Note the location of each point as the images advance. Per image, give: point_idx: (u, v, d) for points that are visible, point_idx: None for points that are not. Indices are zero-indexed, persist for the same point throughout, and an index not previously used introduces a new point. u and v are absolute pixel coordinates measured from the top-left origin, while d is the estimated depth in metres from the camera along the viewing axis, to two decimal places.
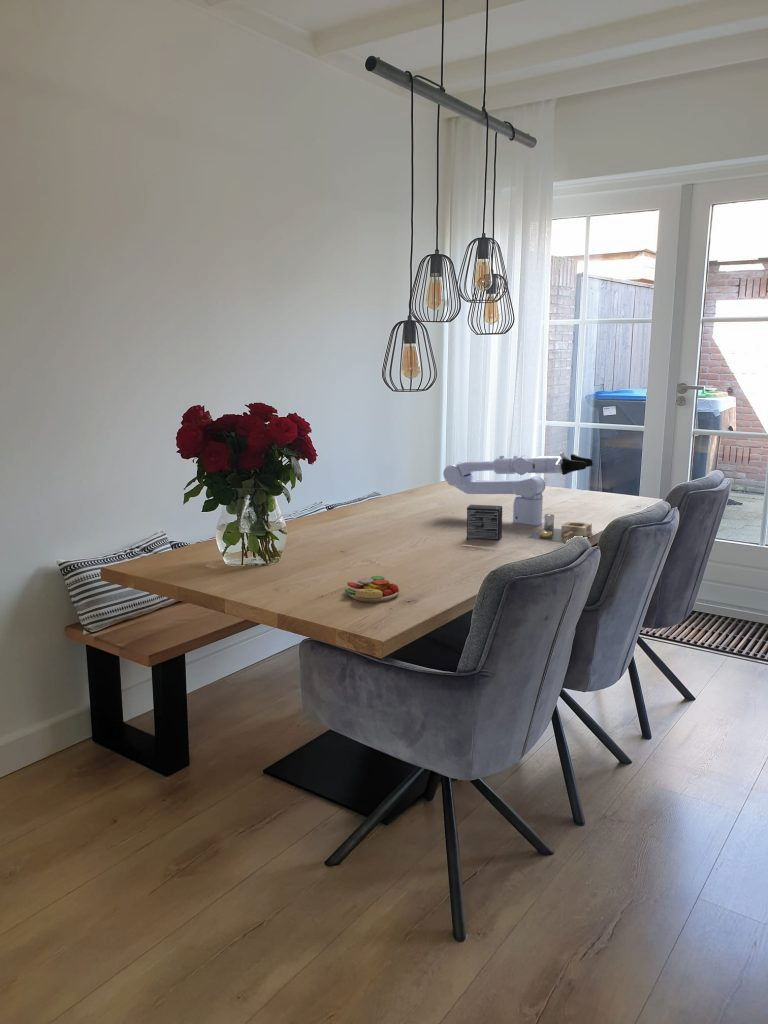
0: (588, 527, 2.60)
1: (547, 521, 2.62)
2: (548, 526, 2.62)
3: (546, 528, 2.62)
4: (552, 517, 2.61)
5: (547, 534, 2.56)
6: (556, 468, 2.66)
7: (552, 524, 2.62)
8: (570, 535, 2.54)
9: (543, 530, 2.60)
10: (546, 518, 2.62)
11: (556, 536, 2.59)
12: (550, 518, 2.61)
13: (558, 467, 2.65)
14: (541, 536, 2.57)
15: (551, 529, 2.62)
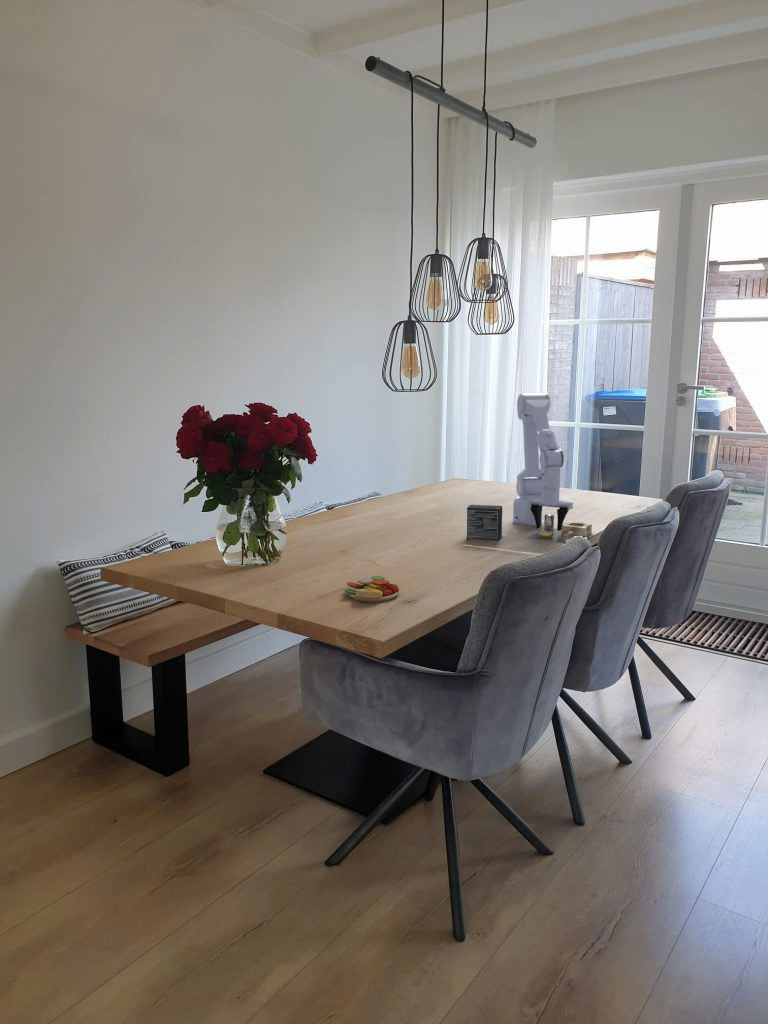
0: (588, 527, 2.60)
1: (547, 521, 2.62)
2: (548, 526, 2.62)
3: (546, 528, 2.62)
4: (552, 517, 2.61)
5: (547, 534, 2.56)
6: None
7: (552, 524, 2.62)
8: (570, 535, 2.54)
9: (543, 530, 2.60)
10: (546, 518, 2.62)
11: (556, 536, 2.59)
12: (550, 518, 2.61)
13: None
14: (541, 536, 2.57)
15: (551, 529, 2.62)
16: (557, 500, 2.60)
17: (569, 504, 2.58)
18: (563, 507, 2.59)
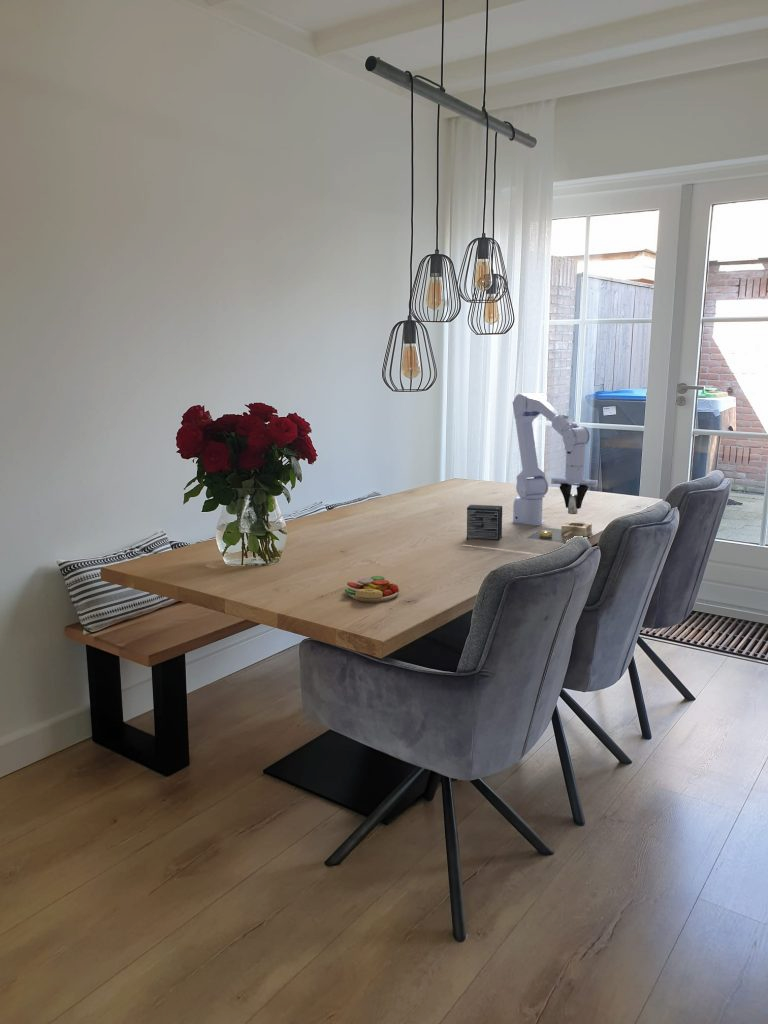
0: (588, 527, 2.60)
1: (570, 501, 2.59)
2: (572, 506, 2.59)
3: (569, 508, 2.60)
4: (576, 497, 2.59)
5: (547, 534, 2.56)
6: None
7: (576, 504, 2.59)
8: (570, 535, 2.54)
9: (543, 530, 2.60)
10: (570, 498, 2.59)
11: (556, 536, 2.59)
12: (573, 498, 2.59)
13: None
14: (541, 536, 2.57)
15: (575, 509, 2.60)
16: (582, 478, 2.57)
17: (594, 482, 2.55)
18: (583, 485, 2.57)
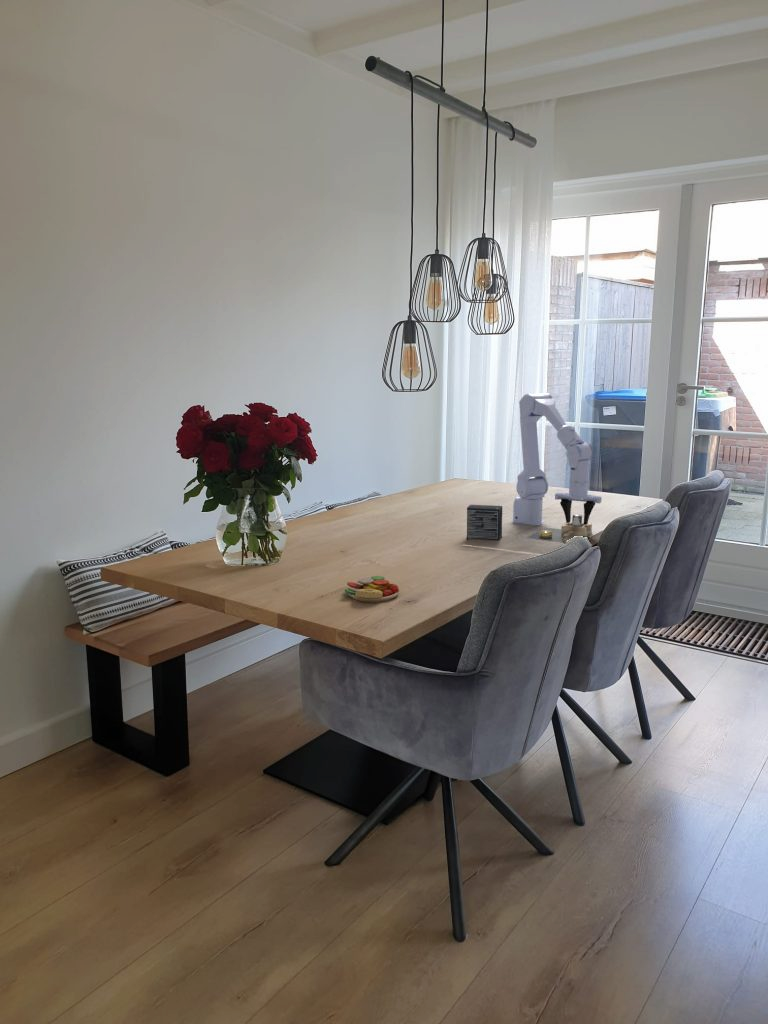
0: (588, 527, 2.60)
1: (574, 521, 2.61)
2: None
3: None
4: (580, 518, 2.60)
5: (547, 534, 2.56)
6: None
7: (579, 525, 2.61)
8: (570, 535, 2.54)
9: (543, 530, 2.60)
10: (574, 518, 2.61)
11: (556, 536, 2.59)
12: (577, 518, 2.60)
13: None
14: (541, 536, 2.57)
15: None
16: (585, 494, 2.58)
17: (598, 498, 2.56)
18: (590, 501, 2.58)
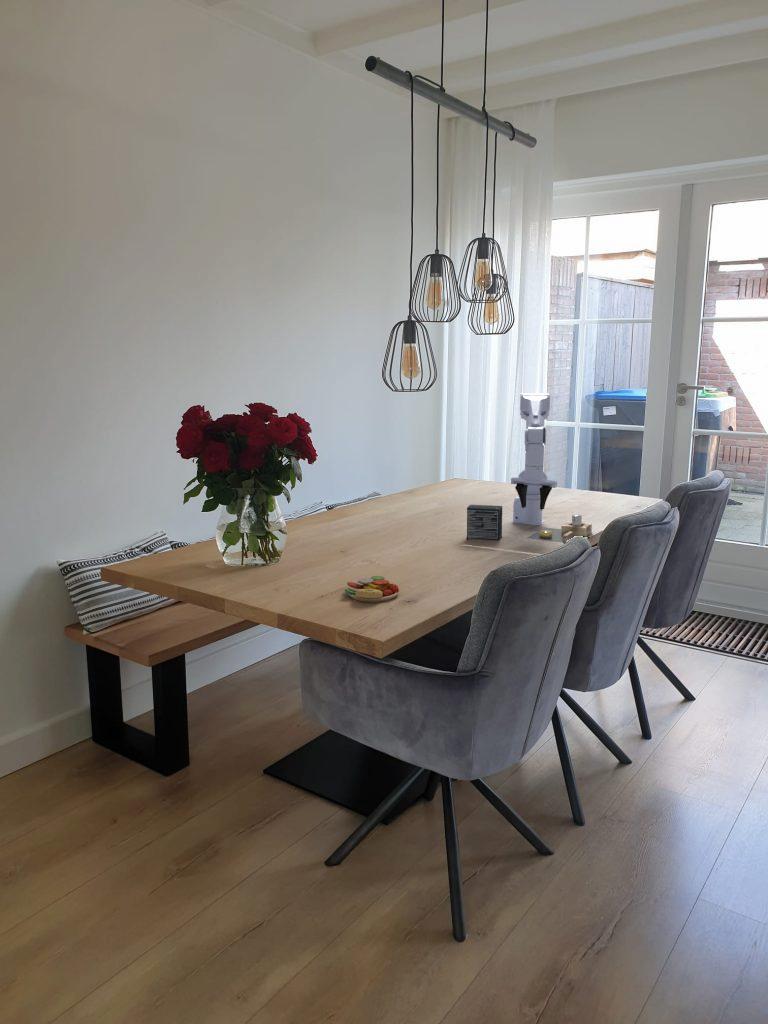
0: (588, 527, 2.60)
1: (574, 522, 2.61)
2: None
3: None
4: (579, 518, 2.60)
5: (547, 534, 2.56)
6: None
7: (579, 525, 2.61)
8: (570, 535, 2.54)
9: (543, 530, 2.60)
10: (573, 519, 2.61)
11: (556, 536, 2.59)
12: (577, 518, 2.60)
13: None
14: (541, 536, 2.57)
15: None
16: (541, 478, 2.55)
17: (553, 482, 2.53)
18: (546, 485, 2.54)
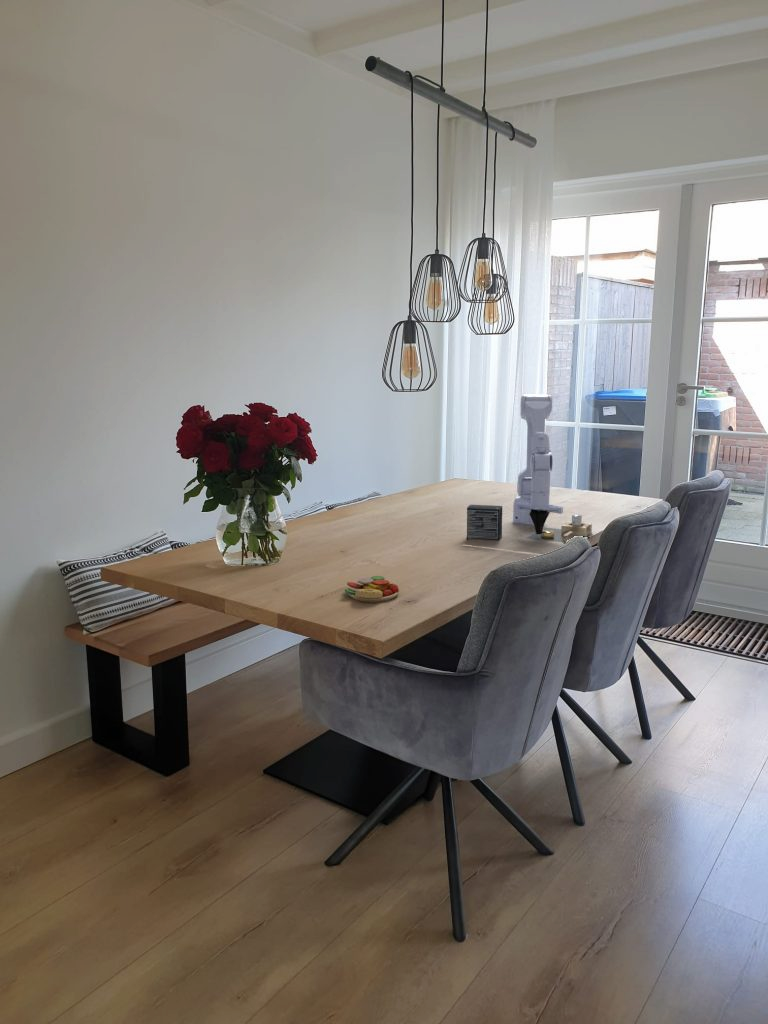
0: (588, 527, 2.60)
1: (574, 522, 2.61)
2: None
3: None
4: (579, 518, 2.60)
5: (549, 534, 2.56)
6: None
7: (579, 525, 2.61)
8: (570, 535, 2.54)
9: None
10: (573, 519, 2.61)
11: (556, 536, 2.59)
12: (577, 518, 2.60)
13: None
14: (543, 536, 2.57)
15: None
16: (547, 504, 2.55)
17: (559, 508, 2.53)
18: (543, 510, 2.56)
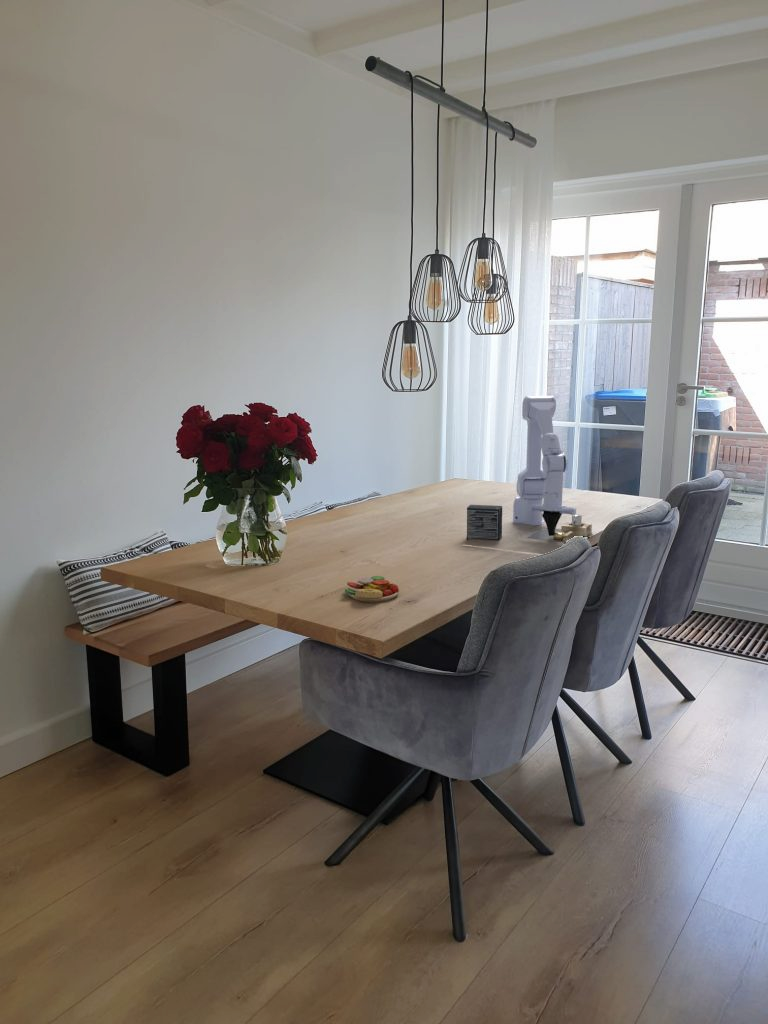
0: (588, 527, 2.60)
1: (574, 522, 2.61)
2: None
3: None
4: (579, 518, 2.60)
5: (561, 536, 2.54)
6: None
7: (579, 525, 2.61)
8: (570, 535, 2.54)
9: None
10: (573, 519, 2.61)
11: None
12: (577, 518, 2.60)
13: None
14: (555, 538, 2.55)
15: None
16: (560, 506, 2.53)
17: (572, 510, 2.51)
18: (556, 512, 2.54)
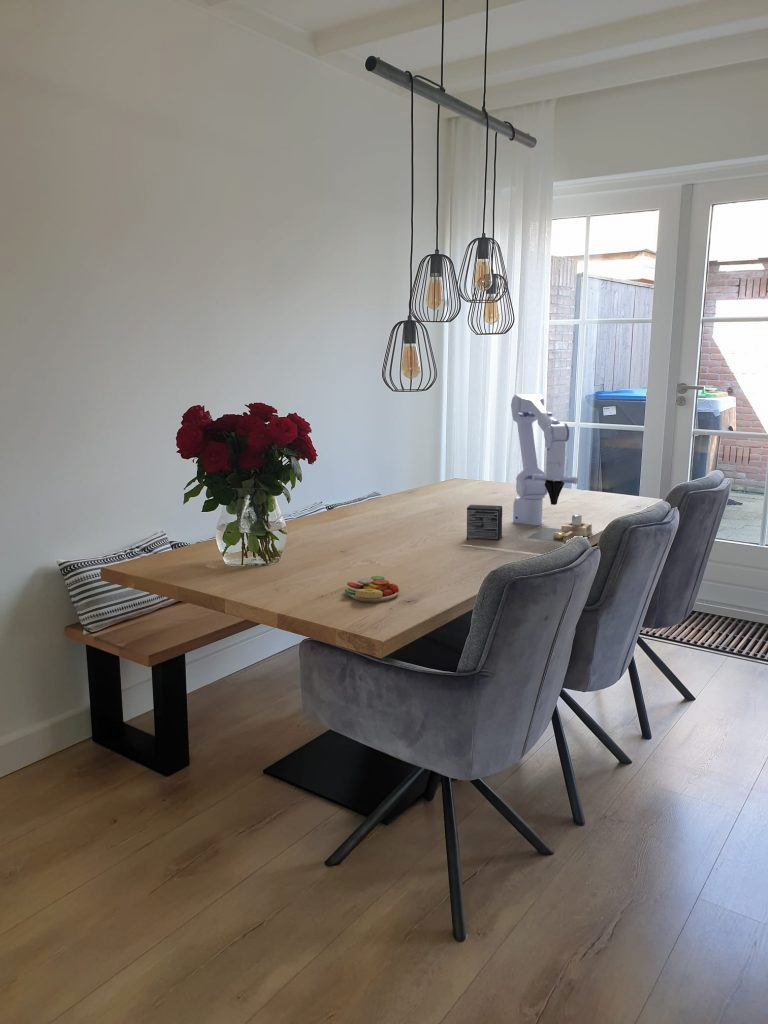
0: (588, 527, 2.60)
1: (574, 522, 2.61)
2: None
3: None
4: (579, 518, 2.60)
5: (561, 536, 2.54)
6: None
7: (579, 525, 2.61)
8: (570, 535, 2.54)
9: (557, 532, 2.57)
10: (573, 519, 2.61)
11: None
12: (577, 518, 2.60)
13: None
14: (555, 538, 2.55)
15: None
16: (562, 475, 2.58)
17: (574, 479, 2.56)
18: (559, 481, 2.59)
